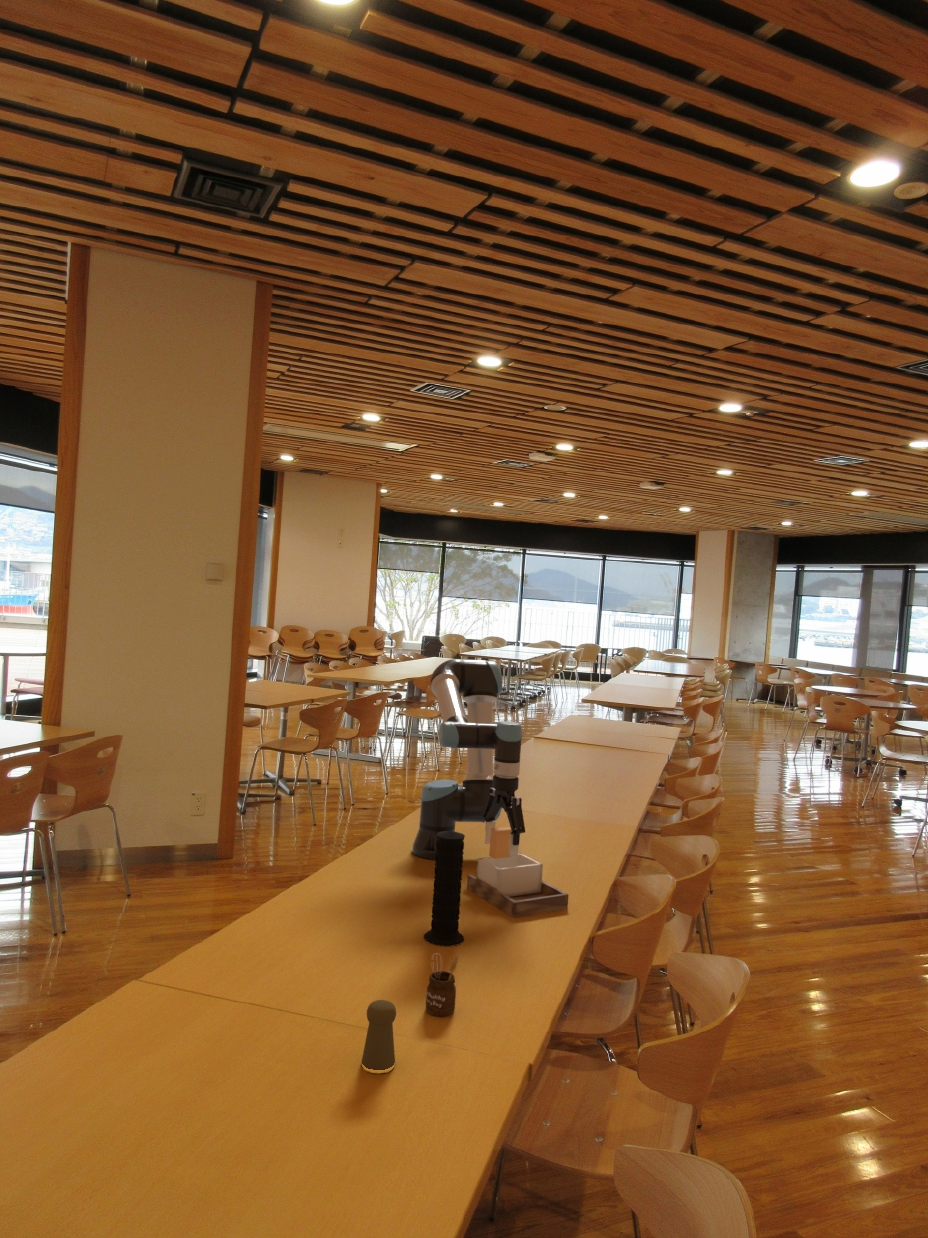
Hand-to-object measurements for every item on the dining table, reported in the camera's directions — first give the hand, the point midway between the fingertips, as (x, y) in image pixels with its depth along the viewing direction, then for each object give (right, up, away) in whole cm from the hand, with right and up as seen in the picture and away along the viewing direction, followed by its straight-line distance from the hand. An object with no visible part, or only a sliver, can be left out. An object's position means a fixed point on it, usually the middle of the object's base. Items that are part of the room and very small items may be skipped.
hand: (501, 849), depth 250 cm
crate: (+2, -10, -4) cm, 11 cm away
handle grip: (-16, -11, -39) cm, 44 cm away
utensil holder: (-16, -12, -76) cm, 79 cm away
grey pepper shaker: (-26, -12, -98) cm, 102 cm away
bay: (+4, -12, -7) cm, 14 cm away
